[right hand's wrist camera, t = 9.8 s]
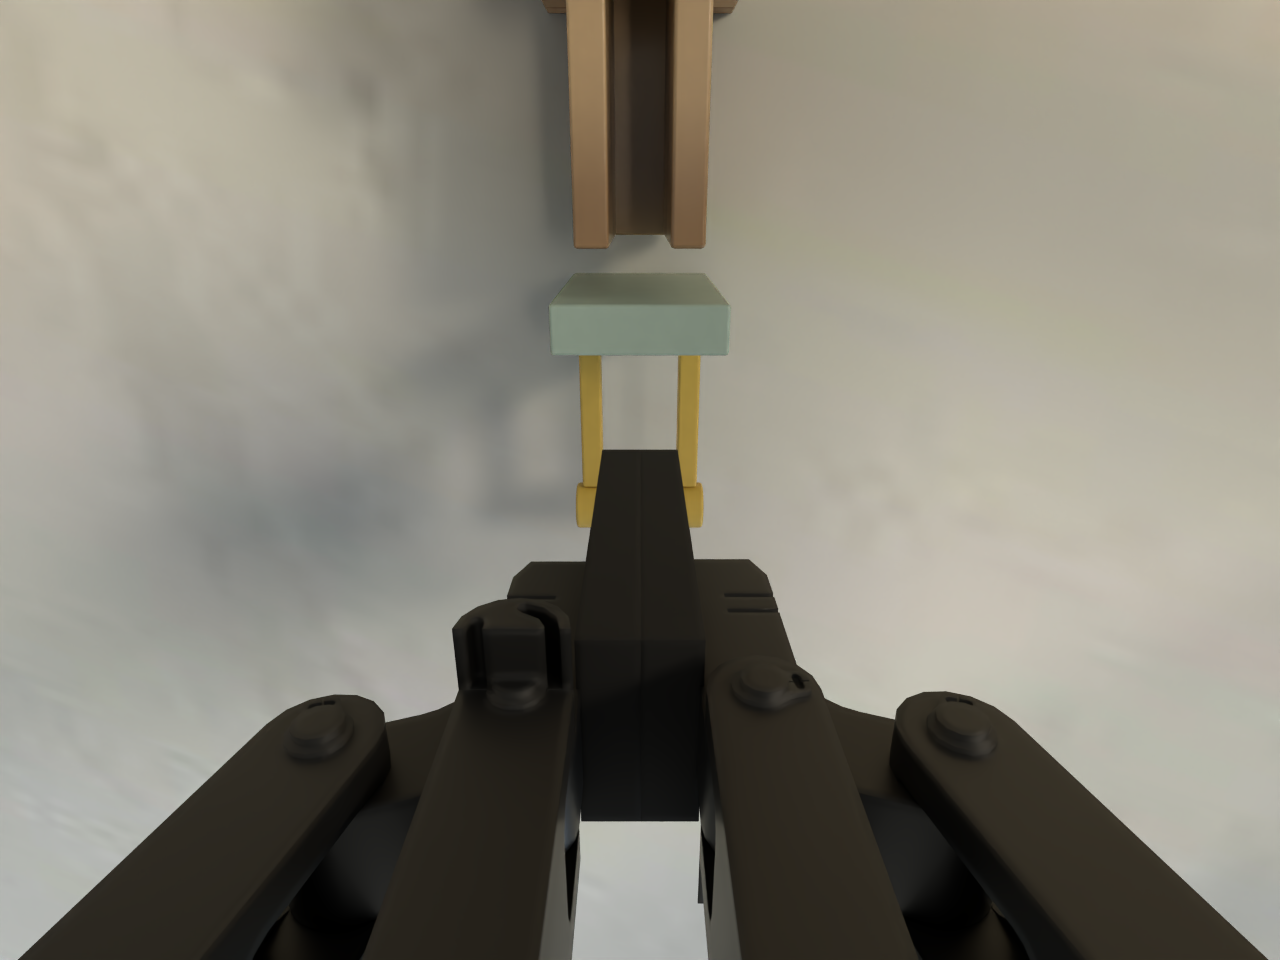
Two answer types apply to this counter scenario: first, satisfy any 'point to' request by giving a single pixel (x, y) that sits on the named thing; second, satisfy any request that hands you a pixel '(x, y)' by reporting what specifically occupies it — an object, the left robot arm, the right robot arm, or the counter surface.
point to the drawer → (639, 208)
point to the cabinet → (721, 4)
